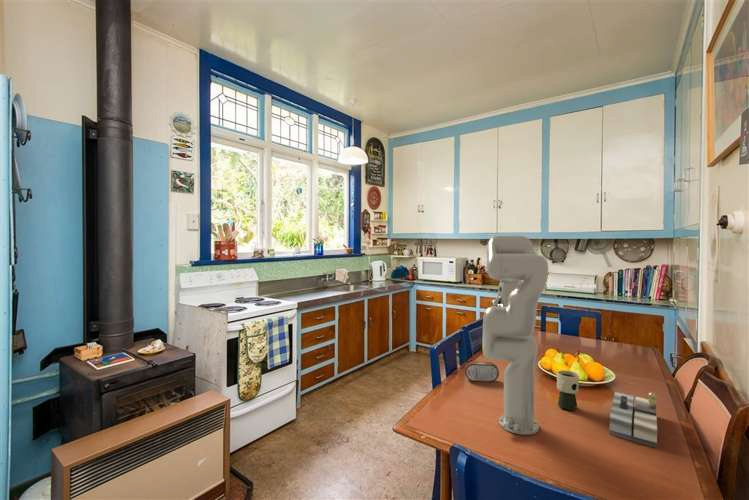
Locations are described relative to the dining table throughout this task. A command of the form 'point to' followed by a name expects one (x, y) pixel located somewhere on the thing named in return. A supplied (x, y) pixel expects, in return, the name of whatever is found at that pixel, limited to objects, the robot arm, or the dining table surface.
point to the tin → (481, 371)
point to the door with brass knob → (651, 405)
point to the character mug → (567, 389)
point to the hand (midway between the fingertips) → (509, 319)
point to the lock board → (633, 420)
